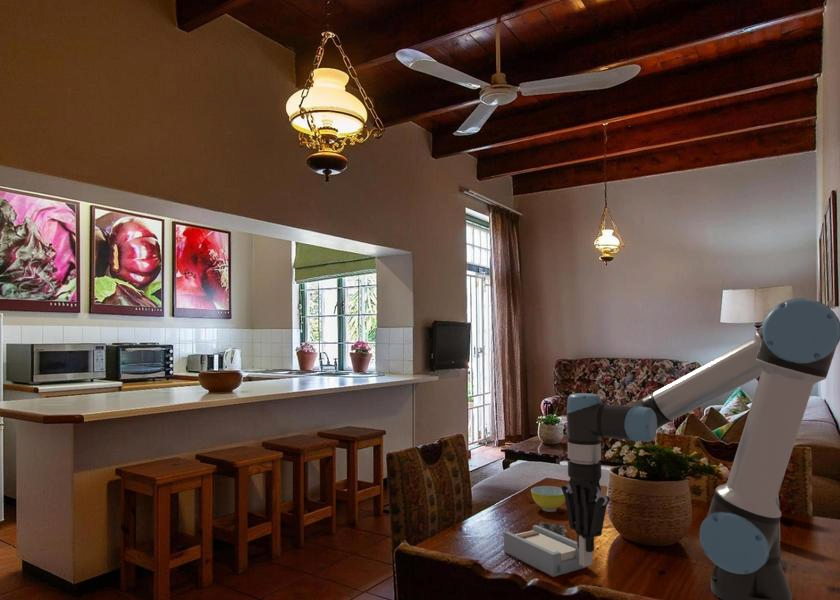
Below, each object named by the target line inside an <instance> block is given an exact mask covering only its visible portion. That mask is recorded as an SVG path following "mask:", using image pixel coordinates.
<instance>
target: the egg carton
mask: <svg viewBox="0 0 840 600" xmlns="http://www.w3.org/2000/svg"><path fill="white" fill-rule="evenodd" d="M539 526H540V527H542V528H545V529H547V530H549V531H552V532H554V533H557V534H559V535H561V536H564V537H566V538H567V533H568V530H567V529H566V527H565V525H564V524H562V525H559V524H558V523H551V522H544V521H541V520H540V521H539Z"/></svg>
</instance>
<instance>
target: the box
mask: <svg viewBox="0 0 840 600" xmlns="http://www.w3.org/2000/svg"><path fill="white" fill-rule="evenodd" d="M532 530H533V531H536V532H539V533H540V534H543V535H545V536H547V537H550V538H552V539H554V540H557V541H559V542H561V543H563V544H566V545H568V546H570V547H573V548H575V549H576V558H573V559H569V560H565V561H562V562H561V553H560V552H558V551H556V552H552V551H549V550H547V549H545V548H543V547H541V546H539V545H536V544H534V543H532V542H530V541H528V540H526V539H523V538H521V537H519V536H517V535H515V534H516V533H515V534H514V533H513V532H511V531H504V532H503V548H504V550H503V552H504V553H506V554H508V555H510V556H512V557H513V558H516V559H518V560H520V561H522V562H524V563H525V564H527V565H530V567H531V566H532V567H533V568H534V569H536V570H539V571H541V572H543V573H545V574H546V575H549V576H550V577H552V578H553V577H557V576H561V575H564V574H569V573H571V572H575V571H578V570H583V569H585V568H587V567H588V566H585V567H584V566H581V565H579V548H578V546H577V540H573V539H571V538H568V537H567V536H566V537H564V536H561V534H557V533H554V532H552V531H549V530H547V529H545V528H542V527H540V525H537V524H534V525H532Z"/></svg>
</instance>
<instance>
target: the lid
mask: <svg viewBox="0 0 840 600" xmlns="http://www.w3.org/2000/svg"><path fill="white" fill-rule="evenodd" d="M515 535H517V536H519V537H521V538H523V539H526V540H528V541H530V542H532V543H534V544H536V545H539V546H541V547H543V548H545V549H547V550H549V551H552V552H556V551H558V552H560V553H561V562H562V561H565V560H569V559H573V558H576V549H575V548H573V547H570V546H568V545H566V544H563V543H561V542H559V541H557V540H554V539H552V538H550V537H547V536H545V535H543V534H540V533H539V532H536V531H533V529H531V530H529V531H524V532H519V533H515Z"/></svg>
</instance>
